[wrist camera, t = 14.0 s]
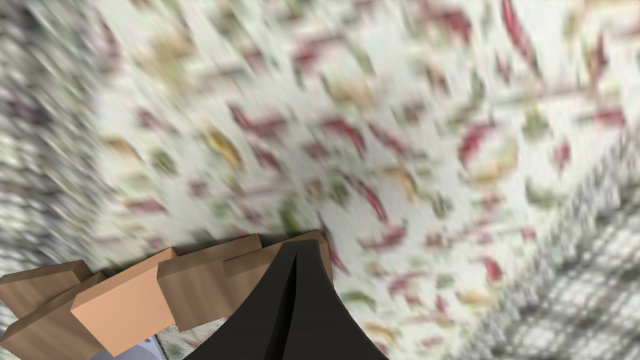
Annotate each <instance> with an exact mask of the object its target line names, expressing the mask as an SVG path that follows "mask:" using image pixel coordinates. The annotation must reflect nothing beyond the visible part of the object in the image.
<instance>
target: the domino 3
mask: <svg viewBox="0 0 640 360" xmlns="http://www.w3.org/2000/svg"><path fill="white" fill-rule="evenodd" d="M176 257H178V256H177V254H176V253H175V251H174V250H173V248H172V247H170V248H168V249H166V250H164V251H162V252H160V253H158V254H156V255H154V256H152V257H150V258H148V259H146V260H144V261H142V262H140V263H138V264H136V265H134V266H132V267H131V268H129V269H127V270H125V271H123V272H121V273H119V274H117V275H115V276H113V277H111V278H109V279H107V280H105V281H103V282H101V283H99V284H97V285H95V286H93V287H91V288H89V289H87V290H85V291H83V292H81V293H79V294H77V296H76V298H75V300H74V303H73V305H72V307H71V310H70V311H71V312H72V314H73V315H74V316H75V317H76V318H77V319H78V320H79V321H80V322H81V323H82V324H83V325H84V326H85V327H86V328H87V329H88V330H89V331H90V332H91V334H92V335H93V336H94V337H95V338H96V339H97V340H98V341H99V342H100V343H101V344H102V345H103V346H104V347H105V348H106V349H107V350H108V351H109V353H110V354H111V355H112V356H113V357H115V356H117V355H119V354H121V353H122V352H124V351H126V350H128V349H130V348H131V347H133V346H135V345H137V344H138V343H140V342H142V341H144V340H146V339H147V338H149V337H151V336H153V335H155V334H156V333H158V332H160V331H162V330H164V329H165V328H167V327H169V326H171V325H173V324H174V323H175V320H174V318H173V316H172V314H171V311H170V309H169V307H168V304H167V302H166V300H165V298H164V295H163V293H162V291H161V289H160V286H159V284H158V282H157V280H156V277H157V270H158V263H159V262H162V261H165V260H169V259H172V258H176Z"/></svg>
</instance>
